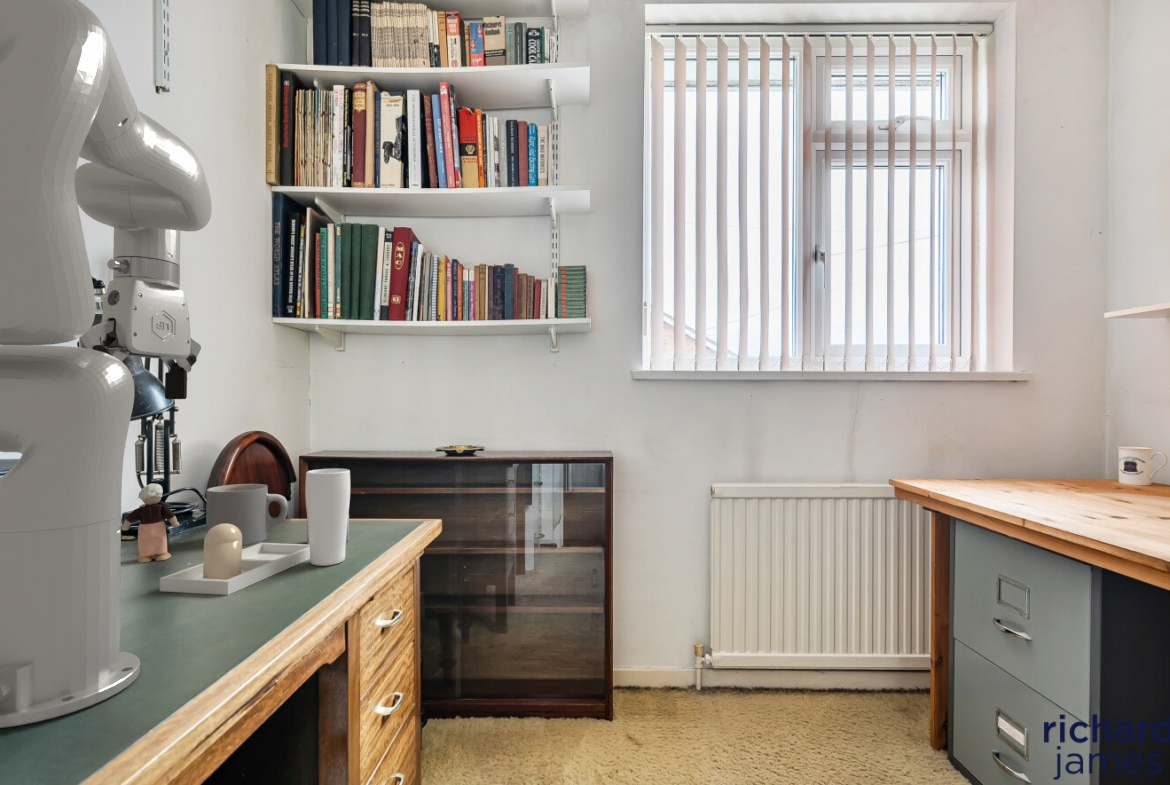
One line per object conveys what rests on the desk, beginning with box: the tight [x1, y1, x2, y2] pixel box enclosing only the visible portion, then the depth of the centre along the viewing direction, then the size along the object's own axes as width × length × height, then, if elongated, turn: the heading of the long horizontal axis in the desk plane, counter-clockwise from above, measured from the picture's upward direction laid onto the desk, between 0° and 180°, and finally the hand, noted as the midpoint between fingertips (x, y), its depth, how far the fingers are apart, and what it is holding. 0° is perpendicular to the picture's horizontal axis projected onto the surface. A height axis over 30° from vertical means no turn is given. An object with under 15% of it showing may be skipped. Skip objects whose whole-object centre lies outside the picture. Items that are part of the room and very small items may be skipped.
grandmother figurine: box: [121, 483, 180, 564], centre depth 98 cm, size 8×4×13 cm, turn 130°
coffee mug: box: [205, 483, 289, 547], centre depth 112 cm, size 13×10×10 cm
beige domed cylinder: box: [203, 523, 243, 580], centre depth 86 cm, size 5×5×8 cm
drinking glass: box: [304, 468, 351, 567], centre depth 96 cm, size 7×7×15 cm
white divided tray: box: [159, 542, 310, 596], centre depth 91 cm, size 20×11×2 cm, turn 172°
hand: (145, 398), depth 82 cm, fingers open, 9 cm apart
